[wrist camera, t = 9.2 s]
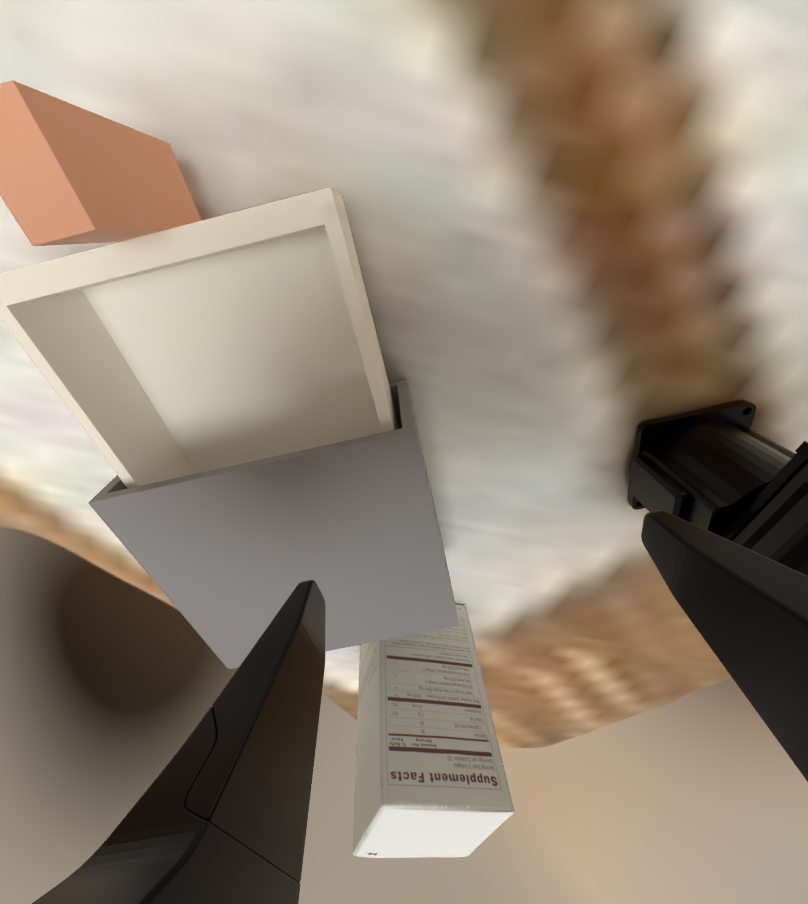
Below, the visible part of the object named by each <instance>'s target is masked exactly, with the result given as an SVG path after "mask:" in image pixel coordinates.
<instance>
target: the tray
mask: <svg viewBox="0 0 808 904" xmlns="http://www.w3.org/2000/svg"><path fill="white" fill-rule="evenodd" d="M0 196H1V197H2V199H3V201H4V202H5V204H6V205H7V207H8V208H9V210H10V211H11V213H12V214H13V216H14V218H15V219H16V221H17V222H18V224H19V225H20V227H21V228H22V230H23V232H24V233H25V235H26V236H27V238H28V239H29V241H30V242H31V244H32V245H33V246H44V245H63V244H82V243H102V242H118V243H114V244H110V245H107V246H103V247H99V248H95V249H91V250H88V251H84V252H80V253H76V254H72V255H68V256H65V257H61V258H57V259H53V260H49V261H46V262H42V263H38V264H34V265H30V266H26V267H23V268H19V269H15V270H11V271H7V272H4V273H0V320H1V321H2V322H3V324H4V325H5V326H6V328H7V329H8V330H9V332H10V333H11V334H12V336H13V337H14V338H15V340H16V341H17V342H18V344H19V345H20V346H21V348H22V349H23V350H24V352H25V353H26V354H27V356H28V357H29V358H30V359H31V361H32V362H33V363H34V365H35V366H36V367H37V369H38V370H39V371H40V373H41V374H42V375H43V377H44V378H45V379H46V381H47V382H48V383H49V385H50V386H51V387H52V389H53V390H54V391H55V393H56V394H57V395H58V397H59V398H60V399H61V401H62V402H63V403H64V405H65V406H66V407H67V409H68V410H69V411H70V413H71V414H72V415H73V417H74V418H75V419H76V421H77V422H78V423H79V425H80V426H81V427H82V429H83V430H84V431H85V433H86V434H87V435H88V437H89V438H90V439H91V440H92V442H93V443H94V444H95V446H96V447H97V448H98V450H99V451H100V452H101V454H102V455H103V456H104V458H105V459H106V460H107V462H108V463H109V464H110V466H111V467H112V468H113V470H114V471H115V472H116V474H117V475H118V476H119V478H120V479H121V480H122V482H123V483H124V484H125V486H126V487H127V488H133V487H137V486H142V485H146V484H151V483H155V482H160V481H164V480H169V479H174V478H178V477H183V476H187V475H192V474H196V473H201V472H205V471H210V470H214V469H219V468H224V467H228V466H233V465H237V464H242V463H246V462H251V461H255V460H260V459H264V458H269V457H274V456H278V455H283V454H287V453H292V452H296V451H301V450H305V449H310V448H315V447H319V446H324V445H328V444H333V443H337V442H342V441H346V440H351V439H355V438H360V437H365V436H369V435H374V434H378V433H383V432H387V431H392V430H396V429H400V426H399V422H398V418H397V414H396V410H395V406H394V402H393V398H392V394H391V390H390V386H389V382H388V378H387V374H386V370H385V366H384V362H383V358H382V354H381V350H380V346H379V342H378V338H377V334H376V330H375V326H374V322H373V318H372V314H371V310H370V306H369V302H368V298H367V294H366V290H365V286H364V282H363V278H362V274H361V270H360V266H359V262H358V258H357V254H356V250H355V246H354V242H353V238H352V234H351V230H350V226H349V222H348V218H347V214H346V210H345V206H344V202H343V198H342V196H341V195H340V194H338V193H337V192H336V191H335V190H334V189H333V188H332V187H328V188H324V189H320V190H317V191H313V192H309V193H305V194H301V195H298V196H294V197H290V198H286V199H282V200H278V201H275V202H271V203H267V204H263V205H259V206H256V207H252V208H248V209H244V210H240V211H236V212H233V213H229V214H225V215H221V216H217V217H214V218H210V219H206V220H201V217H200V215H199V212H198V210H197V208H196V205H195V203H194V201H193V198H192V196H191V194H190V191H189V189H188V187H187V184H186V182H185V179H184V177H183V175H182V172H181V170H180V168H179V165H178V163H177V161H176V158H175V156H174V154H173V151H172V149H171V146H170V144H169V143H166V142H164V141H161V140H159V139H156V138H154V137H151V136H149V135H146V134H144V133H142V132H139V131H137V130H134V129H132V128H129V127H127V126H124V125H122V124H119V123H117V122H114V121H112V120H109V119H107V118H104V117H102V116H99V115H97V114H95V113H92V112H90V111H87V110H85V109H82V108H80V107H77V106H75V105H72V104H70V103H67V102H65V101H62V100H60V99H57V98H55V97H52V96H50V95H48V94H45V93H43V92H40V91H38V90H35V89H33V88H30V87H28V86H25V85H23V84H20V83H18V82H15V81H13V80H12V81H9V82H6V83H2V84H0ZM121 241H122V242H121Z"/></svg>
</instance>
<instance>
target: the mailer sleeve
mask: <svg viewBox="0 0 808 904" xmlns="http://www.w3.org/2000/svg"><path fill="white" fill-rule="evenodd" d="M389 386H390V390H391V394H392V398H393V402H394V406H395V410H396V414H397V418H398V422H399V426H400V429H396V430H392V431H387V432H383V433H378V434H374V435H369V436H365V437H360V438H355V439H351V440H346V441H342V442H337V443H333V444H328V445H324V446H319V447H315V448H310V449H305V450H301V451H296V452H292V453H287V454H283V455H278V456H274V457H269V458H264V459H260V460H255V461H251V462H246V463H242V464H237V465H233V466H228V467H224V468H219V469H214V470H210V471H205V472H201V473H196V474H192V475H187V476H183V477H178V478H174V479H169V480H164V481H160V482H155V483H151V484H146V485H142V486H137V487H133V488H127V487H126V486H125V484H124V483H123V482H122V480H121V479H120V478H119V476H118V475H117V476H116V477H115V478H114V479H113V480H112V481H111V482H110V483H109V484H108V485H107V486H106V487H104V488H103V489H102V490H101V491H100V492H99V493H98V494H97V495H96V496H95V497H94V498H93V499H92V500H91V501H90V502H89V504H90V506H91V507H92V508H93V509H94V510H95V512H96V513H97V514H98V515H99V516H100V517H101V519H102V520H103V521H104V522H105V523H106V525H107V526H108V527H109V528H110V529H111V531H112V532H113V533H114V534H115V535H116V536H117V538H118V539H119V540H120V541H121V542H122V544H123V545H124V546H125V547H126V548H127V549H128V551H129V552H130V553H131V554H132V555H133V557H134V558H135V559H136V560H137V561H138V563H139V564H140V565H141V566H142V567H143V568H144V570H145V571H146V572H147V573H148V574H149V576H150V577H151V578H152V579H153V580H154V581H155V583H156V584H157V585H158V586H159V587H160V589H161V590H162V591H163V592H164V593H165V595H166V596H167V597H168V598H169V599H170V600H171V602H172V603H173V604H174V605H175V606H176V608H177V609H178V610H179V611H180V612H181V614H182V615H183V616H184V617H185V618H186V619H187V621H188V622H189V623H190V624H191V625H192V626H193V628H194V629H195V630H196V631H197V632H198V634H199V635H200V636H201V637H202V638H203V640H204V641H205V642H206V643H207V644H208V646H209V647H210V648H211V649H212V650H213V651H214V653H215V654H216V655H217V656H218V657H219V659H220V660H221V661H222V662H223V663H224V665H225V666H226V667H227V668H228V669H232V668H237V667H239V666H240V665H241V664H242V662H243V661H244V659H245V658H246V657H247V655H248V654H249V652H250V651H251V650H252V648H253V647H254V645H255V644H256V642H257V641H258V640H259V638H260V637H261V635H262V634H263V633H264V631H265V630H266V628H267V627H268V626H269V624H270V623H271V621H272V620H273V619H274V617H275V616H276V614H277V613H278V612H279V610H280V609H281V607H282V606H283V604H284V603H285V602H286V600H287V599H288V597H289V596H290V595H291V593H292V592H293V590H294V589H295V588H296V586H297V585H298V584H299V583H300V582H303V581H308V580H314V581H315V582H316V583H317V585H318V587H319V589H320V591H321V593H322V595H323V597H324V600H325V607H326V611H325V651H329V650H334V649H339V648H345V647H350V646H356V645H361V644H366V643H372V642H377V641H382V640H388V639H393V638H399V637H404V636H409V635H415V634H420V633H425V632H431V631H436V630H442V629H447V628H452V627H458V626H459V621H458V616H457V611H456V606H455V601H454V596H453V591H452V587H451V582H450V577H449V572H448V567H447V562H446V557H445V552H444V548H443V543H442V539H441V534H440V530H439V525H438V521H437V516H436V512H435V507H434V503H433V498H432V494H431V489H430V485H429V480H428V476H427V471H426V467H425V463H424V458H423V454H422V449H421V445H420V440H419V436H418V431H417V427H416V422H415V418H414V413H413V409H412V404H411V400H410V395H409V391H408V386H407V382H406V379H404V380H399V381H395V382H390V383H389Z"/></svg>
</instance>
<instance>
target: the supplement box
mask: <svg viewBox="0 0 808 904" xmlns="http://www.w3.org/2000/svg"><path fill="white" fill-rule="evenodd" d="M455 606H456V611H457V616H458V621H459V626H458V627H452V628H447V629H442V630H436V631H431V632H425V633H420V634H415V635H409V636H404V637H399V638H393V639H388V640H382V641H377V642H372V643H366V644H361V647H360V665H359V692H358V718H357V746H356V771H355V772H356V773H355V799H354V826H353V855H355V856H360V857H371V858H403V857H463V856H468V855H469V854H471V853H472V852H473V850H474V849H475V848H476V847H478V845H480V844H481V843H482V842H483V841H484V840H485V839H486V838H487V837H488V836H489V835H490V834H491V833H492V832H493V831H494V830H495V829H496V828H498V827H499V826H500V825H501V824H502V823H503V822H504V821H505V820H506V819H507V818H509V817H510V816H511V815H512V814H513V813H514V807H513V804H512V799H511V796H510V791H509V787H508V783H507V779H506V773H505V770H504V766H503V761H502V757H501V753H500V749H499V745H498V740H497V736H496V732H495V727H494V723H493V719H492V714H491V710H490V706H489V702H488V697H487V693H486V689H485V685H484V681H483V676H482V672H481V668H480V664H479V660H478V655H477V651H476V647H475V643H474V639H473V634H472V630H471V626H470V622H469V618H468V614H467V610H466V607H465V606H463V605H457V604H455Z"/></svg>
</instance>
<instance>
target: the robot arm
mask: <svg viewBox="0 0 808 904" xmlns="http://www.w3.org/2000/svg"><path fill="white" fill-rule="evenodd" d="M744 409H745V410H744ZM743 410H744V411H743ZM755 411H756V406H755V404H753V403H751V402H748V401H740V402H735V403H731V404H726V405H721V406H717V407H712V408H707V409H702V410H698V411H693V412H688V413H684V414H679V415H674V416H670V417H665V418H660V419H655V420H651V421H646V422H644V423H642V424H641V425H640V426H639V427H638V430H637V437H636V445H635V453H634V458H633V460H632V467H631V475H630V483H629V491H630V492H629V500H628V502H629V504H630V505H631V506H632V508H633V509H642V508H646V509H647V510H648V511H649V512H650V513H647V514H646V515H645V516H644V521H643V528H642V534H641V538H642V542H643V544H644V546H645V548H646V550H647V551H648V553H649V555H650V556H651V558H652V560H653V562H654V563H655V565H656V567H657V569H658V570H659V572H660V574H661V576H662V577H663V579H664V581H665V582H666V584H667V586H668V588H669V589H670V591H671V593H672V594H673V596H674V597H675V599H676V600H677V602H678V603H679V605H680V606H681V607H682V609H683V610H684V612H685V613H686V614H687V616H688V617H689V619H690V620H691V621H692V623H693V624H694V625H695V627H696V628H697V630H698V631H699V632H700V634H701V635H702V636H703V638H704V639H705V641H706V642H707V643H708V645H709V646H710V648H711V649H712V650H713V652H714V653H715V654H716V656H717V657H718V659H719V660H720V661H721V663H722V664H723V665H724V667H725V668H726V670H727V671H728V672H729V674H730V675H731V677H732V678H733V679H734V681H735V682H736V683H737V685H738V686H739V688H740V689H741V690H742V692H743V693H744V694H745V696H746V697H747V699H748V700H749V701H750V703H751V704H752V705H753V707H754V708H755V710H756V711H757V712H758V714H759V715H760V717H761V718H762V719H763V721H764V722H765V724H766V725H767V726H768V728H769V729H770V730H771V732H772V733H773V735H774V736H775V737H776V739H777V740H778V741H779V743H780V744H781V746H782V747H783V748H784V749H785V751H786V752H787V754H788V755H789V757H790V758H791V759H792V761H793V762H794V764H795V765H796V766H797V768H798V769H799V770H800V772H801V773H802V774H803V776H804V777H805V779H806V780H807V781H808V442H807V441H804V442H803V443H802V444H801V445H800V446H799V448H798V449H797V450H796V452H797V453H796V454H795V453H793V452H791V451H789V450H788V449H786V448H784V447H782V446H780V445H778V444H777V443H775V442H773V441H771V440H769V439H767V438H765V437H764V436H762V435H760V434H758V433H756V432H754V431H752V430H751V429H750V427H751V424H752V421H753V417H754V414H755ZM649 428H650V429H649ZM648 429H649V431H648V432H646V431H647V430H648ZM325 611H326V607H325V600H324V597H323V595H322V593H321V591H320V589H319V587H318V585H317V583H316V582H315V581H314V580H308V581H303V582H300V583H299V584H298V585H297V586H296V588H295V589H294V590H293V592H292V593H291V595H290V596H289V597H288V599H287V600H286V602H285V603H284V604H283V606H282V607H281V609H280V610H279V612H278V613H277V614H276V616H275V617H274V619H273V620H272V621H271V623H270V624H269V626H268V627H267V628H266V630H265V631H264V633H263V634H262V635H261V637H260V638H259V640H258V641H257V642H256V644H255V645H254V647H253V648H252V650H251V651H250V652H249V654H248V655H247V657H246V658H245V659H244V661H243V662H242V664H241V665H240V666H239V668H238V669H237V671H236V672H235V673H234V675H233V676H232V678H231V679H230V680H229V682H228V683H227V685H226V686H225V688H224V689H223V690H222V692H221V693H220V695H219V696H218V698H217V699H216V700H215V702H214V703H213V707H211V708H210V709H209V710H208V711H207V713H206V714H205V715H204V717H203V718H202V720H201V721H200V723H199V724H198V725H197V727H196V728H195V729H194V731H193V732H192V733H191V735H190V736H189V737H188V739H187V740H186V742H185V743H184V744H183V746H182V747H181V748H180V750H179V751H178V752H177V754H176V755H175V756H174V757H173V758H172V760H171V761H170V762H169V763H168V765H167V766H166V767H165V769H164V770H163V771H162V772H161V774H160V775H159V776H158V777H157V778H156V780H155V781H154V782H153V783H152V785H151V786H150V787H149V788H148V790H147V791H146V792H145V793H144V795H143V796H142V797H141V798H140V799H139V801H138V802H137V803H136V804H135V805H134V807H133V808H132V809H131V810H130V812H129V813H128V814H127V815H126V817H125V818H124V819H123V820H122V821H121V823H120V824H119V825H118V826H117V828H116V829H115V830H114V831H113V833H112V834H111V835H110V836H109V837H108V839H107V840H106V841H105V842H104V843H103V844H102V845H101V847H100V848H99V849H98V850H97V851H96V852H95V853H94V854H93V855H92V856H91V857H90V858H89V859H88V860H87V861H86V862H85V863H84V864H83V865H82V866H81V867H80V868H79V869H77V870H76V871H75V872H74V873H73V874H71V875H70V876H69V877H68V878H66V879H65V880H64V881H62V882H61V883H60V884H59V885H57V886H56V887H54V888H53V889H52V890H50V891H49V892H47V893H46V894H45V895H43V896H42V897H40V898H39V899H38V900H36V901H35V902H34V903H32V904H298V901H299V892H300V883H299V882H300V880H301V872H302V863H303V855H304V846H305V837H306V828H307V819H308V810H309V802H310V792H311V784H312V775H313V766H314V757H315V748H316V739H317V731H318V721H319V713H320V704H321V695H322V686H323V677H324V668H325Z"/></svg>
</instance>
